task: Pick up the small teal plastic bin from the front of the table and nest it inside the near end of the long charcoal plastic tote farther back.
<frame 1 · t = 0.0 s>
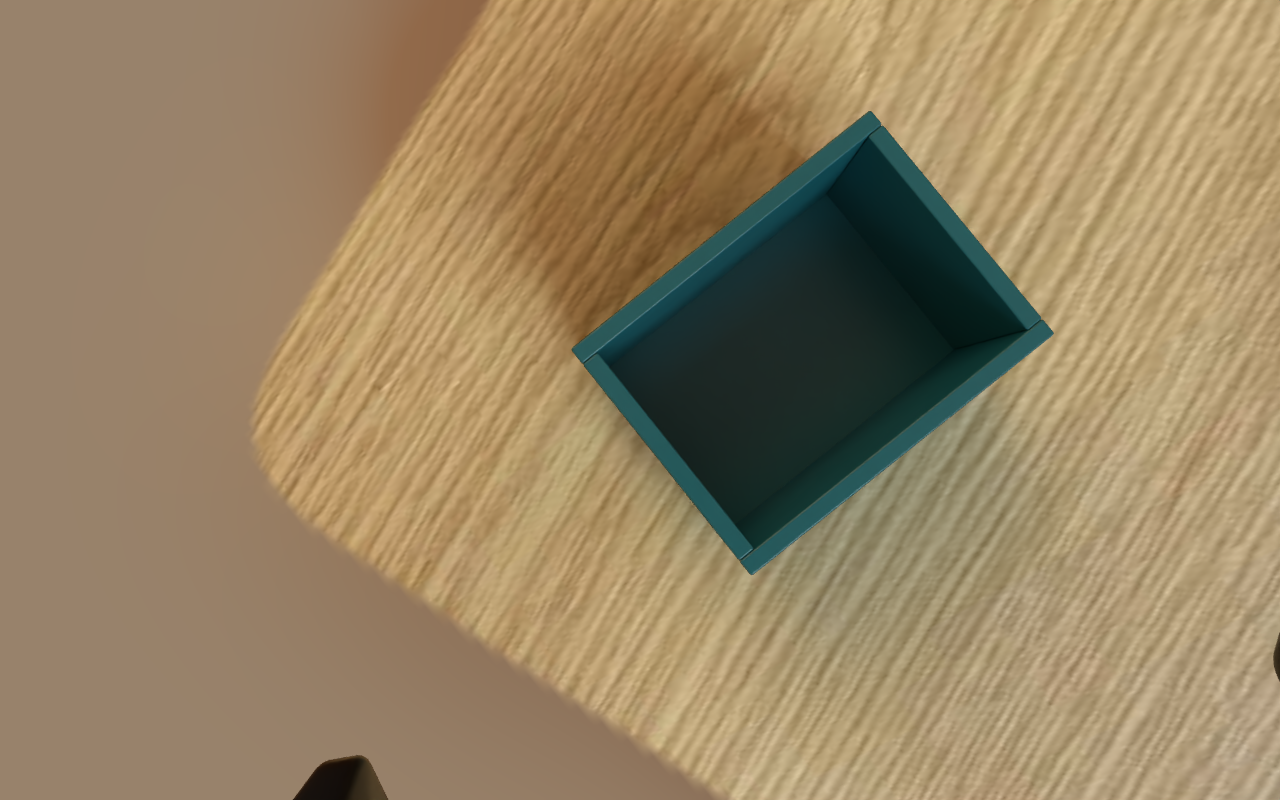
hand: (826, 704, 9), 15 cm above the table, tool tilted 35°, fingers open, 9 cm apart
teal bin: (778, 359, 23), on the table
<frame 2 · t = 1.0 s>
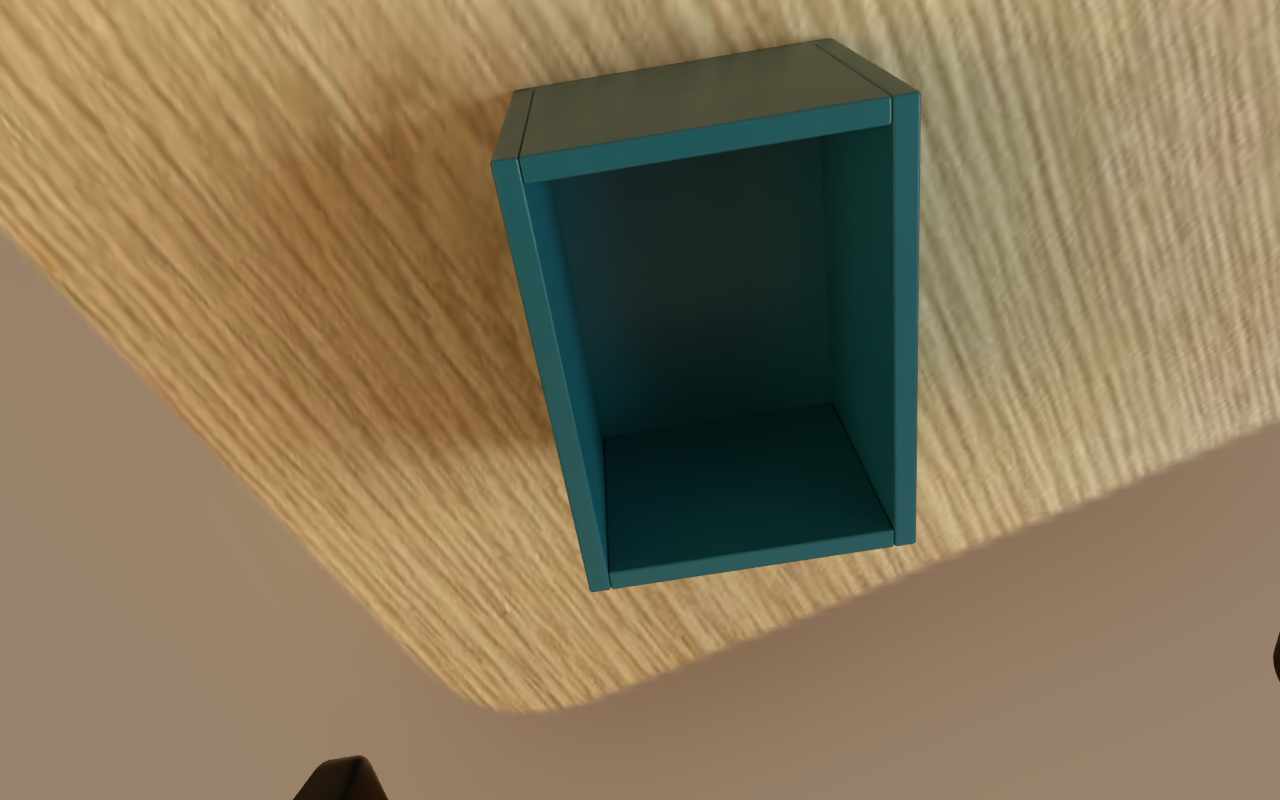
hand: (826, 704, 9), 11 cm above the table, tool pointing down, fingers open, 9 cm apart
teal bin: (696, 264, 19), on the table
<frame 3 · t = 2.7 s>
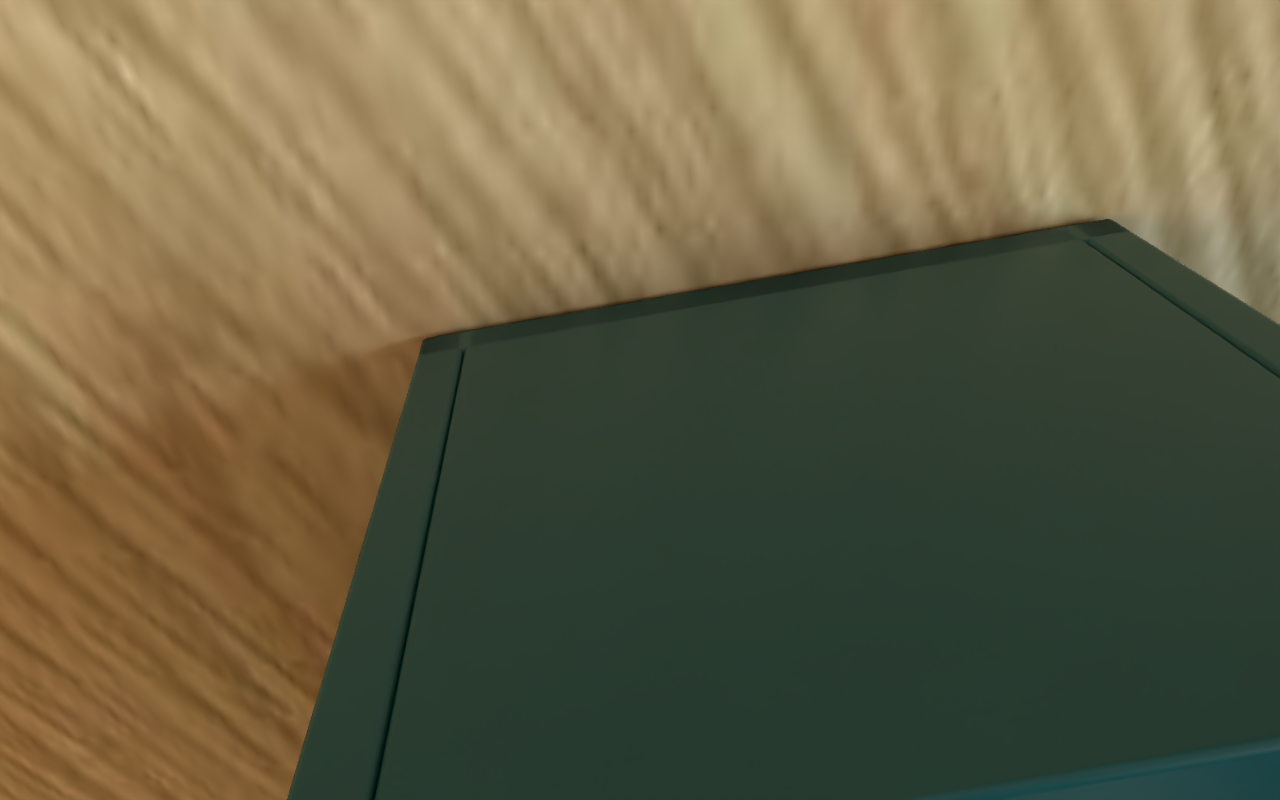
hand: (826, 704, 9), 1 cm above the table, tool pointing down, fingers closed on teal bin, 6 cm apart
teal bin: (794, 613, 10), on the table, touching gripper
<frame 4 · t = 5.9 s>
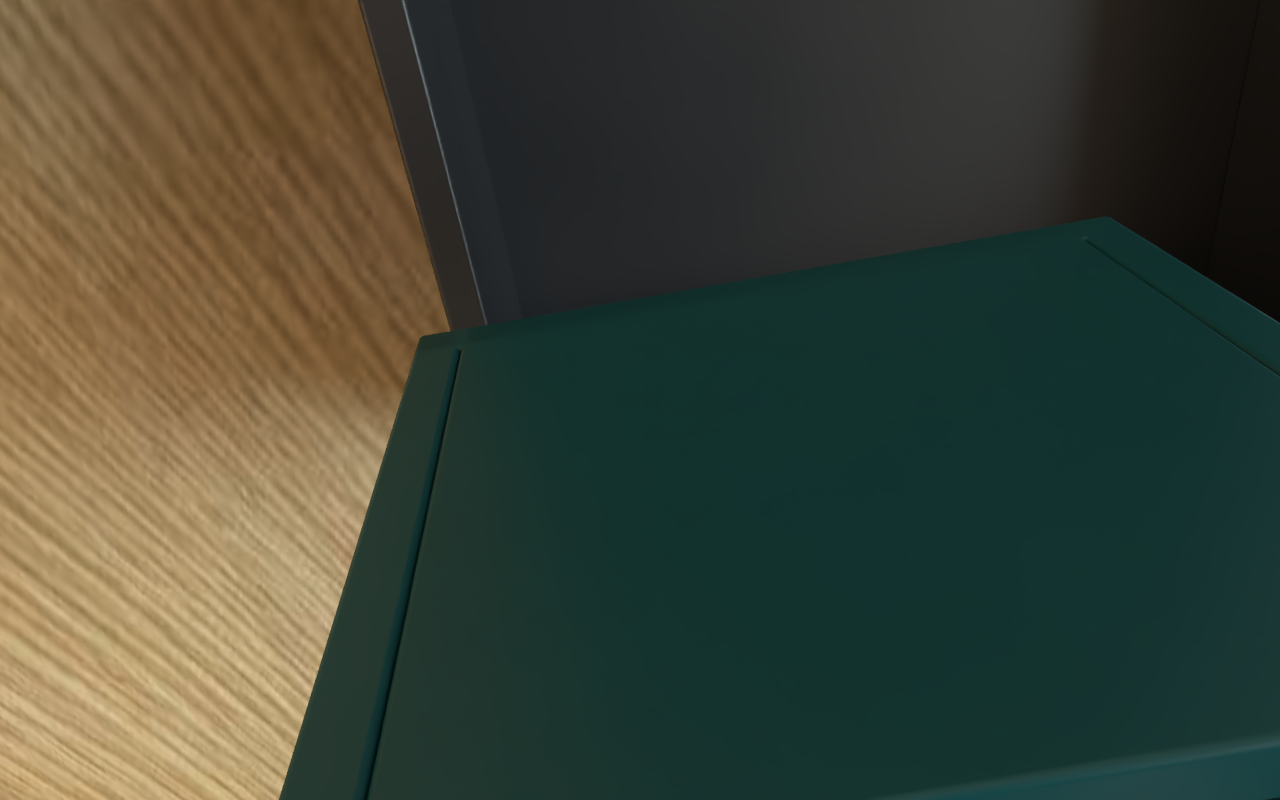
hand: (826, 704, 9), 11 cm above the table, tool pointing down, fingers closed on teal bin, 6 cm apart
teal bin: (792, 612, 10), point 10 cm above the table, touching gripper
when the fingers open (2 cm above the table, at t = 9.1 s): teal bin stays where it is, resting on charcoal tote.
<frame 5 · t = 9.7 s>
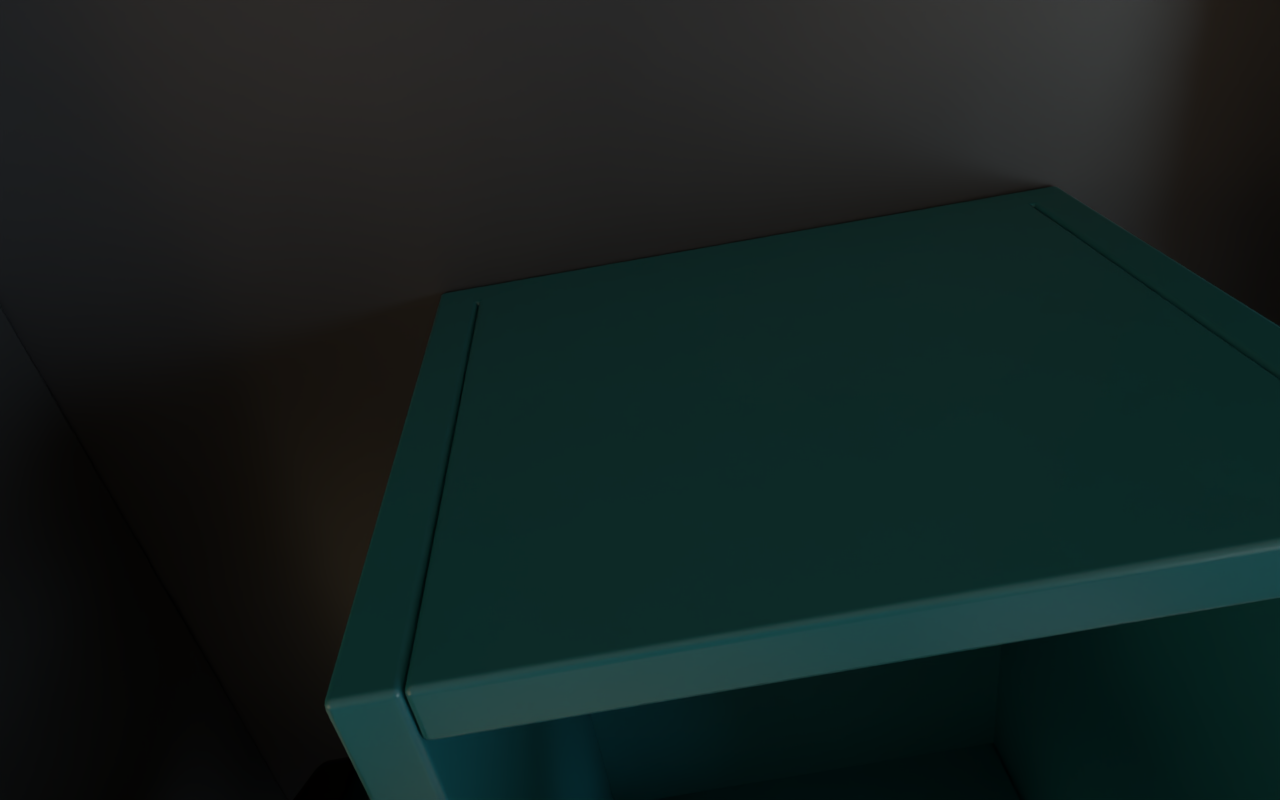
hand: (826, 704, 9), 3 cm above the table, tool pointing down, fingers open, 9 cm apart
teal bin: (778, 553, 11), point 1 cm above the table, touching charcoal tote
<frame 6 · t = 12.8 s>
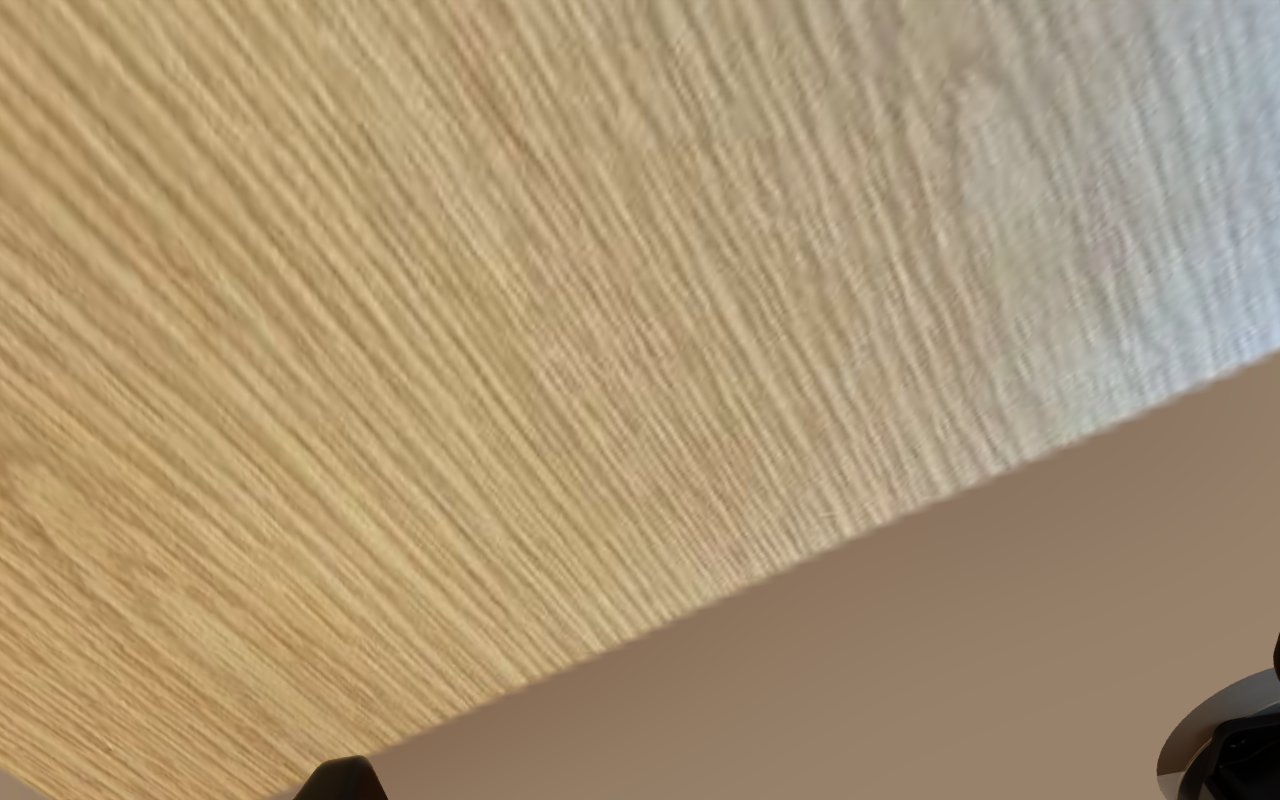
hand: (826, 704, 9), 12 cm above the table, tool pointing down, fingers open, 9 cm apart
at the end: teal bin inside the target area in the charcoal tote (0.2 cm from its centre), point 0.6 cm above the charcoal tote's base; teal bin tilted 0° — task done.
